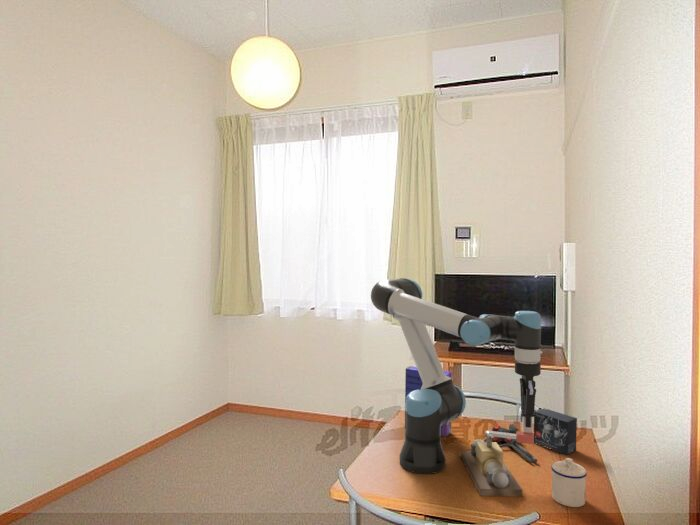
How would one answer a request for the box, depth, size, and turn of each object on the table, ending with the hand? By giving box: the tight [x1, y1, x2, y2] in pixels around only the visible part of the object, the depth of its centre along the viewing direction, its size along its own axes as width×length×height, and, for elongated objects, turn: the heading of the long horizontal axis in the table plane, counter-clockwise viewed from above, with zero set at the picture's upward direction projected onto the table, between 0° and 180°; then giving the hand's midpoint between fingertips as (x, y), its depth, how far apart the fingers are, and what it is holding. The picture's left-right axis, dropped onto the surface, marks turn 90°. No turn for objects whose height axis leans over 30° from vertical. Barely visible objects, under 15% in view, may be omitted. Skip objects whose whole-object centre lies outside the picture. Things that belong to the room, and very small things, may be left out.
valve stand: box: [460, 437, 523, 497], centre depth 148 cm, size 12×26×12 cm, turn 179°
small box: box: [533, 407, 578, 456], centre depth 170 cm, size 13×7×12 cm, turn 37°
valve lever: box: [484, 429, 535, 445], centre depth 146 cm, size 14×3×2 cm, turn 72°
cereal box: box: [404, 366, 453, 438], centre depth 185 cm, size 17×5×24 cm, turn 59°
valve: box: [482, 423, 538, 464], centre depth 168 cm, size 6×26×15 cm
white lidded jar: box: [551, 457, 588, 508], centre depth 134 cm, size 12×9×12 cm
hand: (527, 436), depth 146 cm, fingers closed
